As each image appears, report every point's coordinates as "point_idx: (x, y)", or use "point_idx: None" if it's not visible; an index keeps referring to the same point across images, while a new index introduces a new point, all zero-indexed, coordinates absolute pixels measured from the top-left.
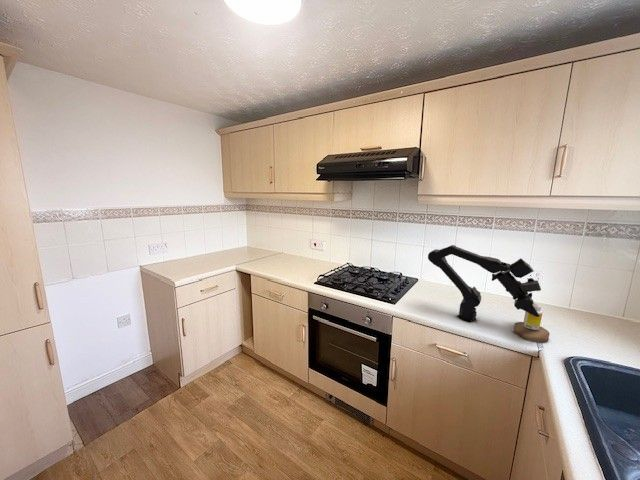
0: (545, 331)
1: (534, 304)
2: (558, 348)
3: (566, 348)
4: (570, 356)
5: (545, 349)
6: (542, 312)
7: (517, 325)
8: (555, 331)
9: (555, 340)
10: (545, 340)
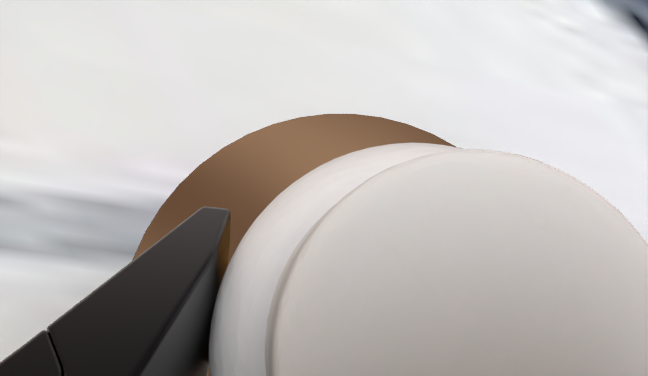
0: (333, 153)
1: (417, 373)
2: (517, 90)
3: (465, 17)
4: (629, 27)
5: (632, 221)
6: (447, 146)
7: None
8: (37, 16)
9: (320, 74)
10: None
